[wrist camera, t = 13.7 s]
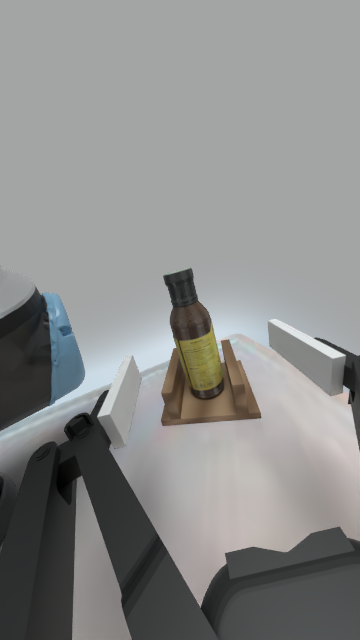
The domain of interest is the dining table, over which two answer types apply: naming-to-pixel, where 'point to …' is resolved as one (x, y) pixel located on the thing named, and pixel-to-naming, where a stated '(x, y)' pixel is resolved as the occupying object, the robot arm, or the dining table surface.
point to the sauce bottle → (194, 336)
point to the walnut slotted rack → (224, 406)
